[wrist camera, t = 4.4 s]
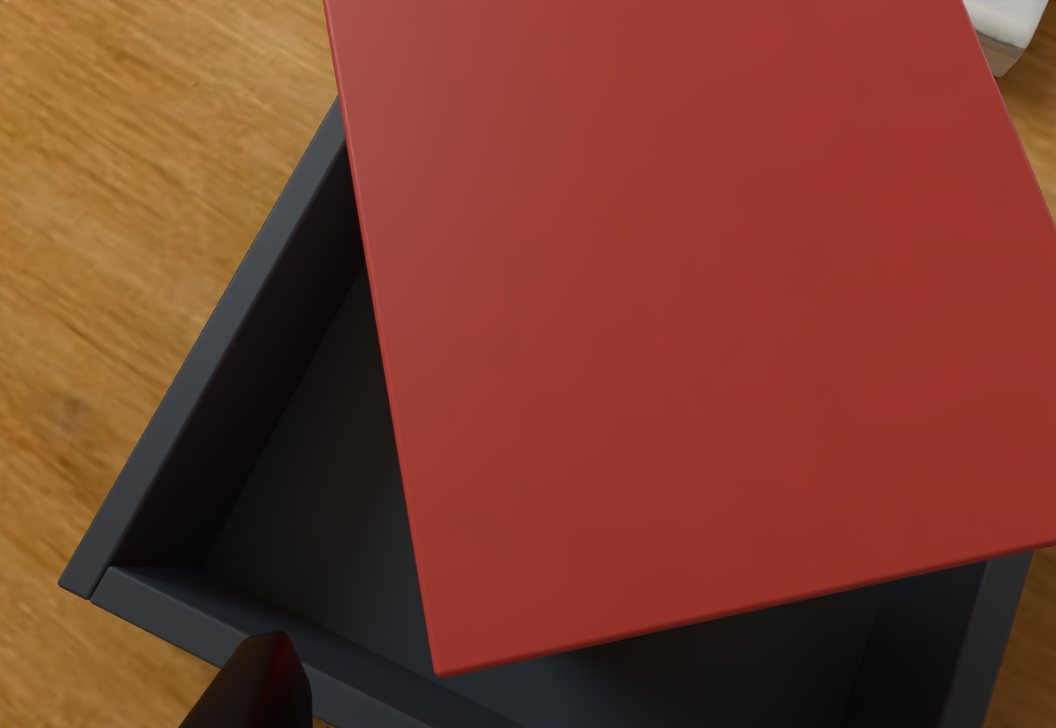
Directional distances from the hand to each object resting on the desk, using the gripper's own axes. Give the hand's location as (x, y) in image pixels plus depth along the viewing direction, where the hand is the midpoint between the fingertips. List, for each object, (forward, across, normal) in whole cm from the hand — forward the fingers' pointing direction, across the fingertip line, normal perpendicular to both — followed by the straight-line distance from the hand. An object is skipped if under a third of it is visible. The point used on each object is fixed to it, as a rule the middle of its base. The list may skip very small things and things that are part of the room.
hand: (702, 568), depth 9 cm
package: (+9, 0, +5) cm, 10 cm away
